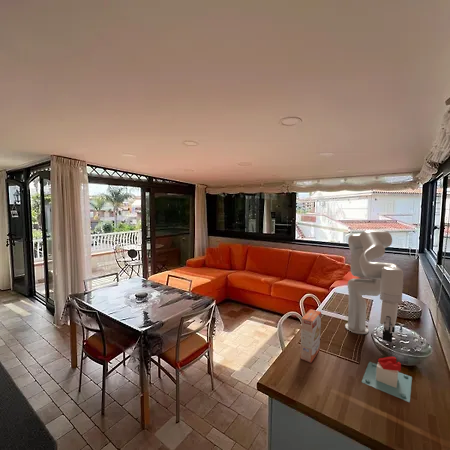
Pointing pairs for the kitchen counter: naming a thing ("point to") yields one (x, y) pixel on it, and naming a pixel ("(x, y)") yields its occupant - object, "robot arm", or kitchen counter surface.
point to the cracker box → (310, 335)
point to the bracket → (390, 363)
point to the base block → (387, 376)
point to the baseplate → (402, 385)
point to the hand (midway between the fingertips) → (388, 335)
